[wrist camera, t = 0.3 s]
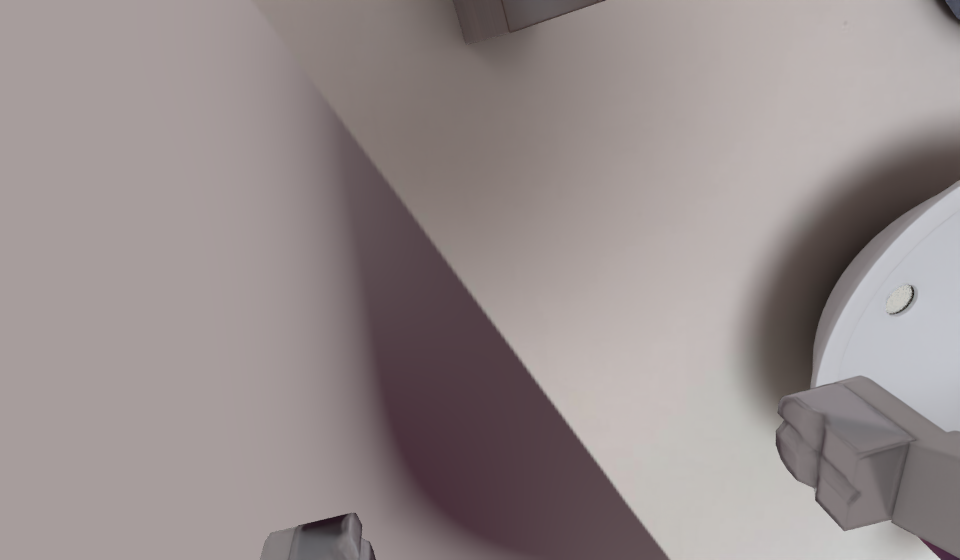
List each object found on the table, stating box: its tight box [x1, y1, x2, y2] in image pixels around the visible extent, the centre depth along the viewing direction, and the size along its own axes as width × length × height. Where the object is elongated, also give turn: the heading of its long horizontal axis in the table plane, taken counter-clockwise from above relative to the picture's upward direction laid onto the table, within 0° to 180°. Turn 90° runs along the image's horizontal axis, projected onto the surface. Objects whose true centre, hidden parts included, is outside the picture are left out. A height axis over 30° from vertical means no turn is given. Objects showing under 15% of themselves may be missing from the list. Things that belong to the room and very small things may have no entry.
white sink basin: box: [810, 180, 960, 432], centre depth 34 cm, size 24×24×7 cm
